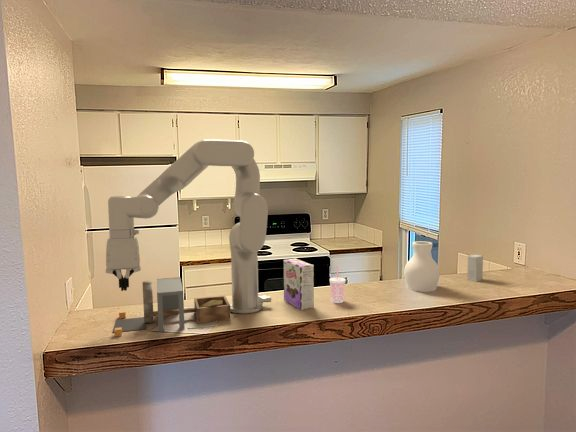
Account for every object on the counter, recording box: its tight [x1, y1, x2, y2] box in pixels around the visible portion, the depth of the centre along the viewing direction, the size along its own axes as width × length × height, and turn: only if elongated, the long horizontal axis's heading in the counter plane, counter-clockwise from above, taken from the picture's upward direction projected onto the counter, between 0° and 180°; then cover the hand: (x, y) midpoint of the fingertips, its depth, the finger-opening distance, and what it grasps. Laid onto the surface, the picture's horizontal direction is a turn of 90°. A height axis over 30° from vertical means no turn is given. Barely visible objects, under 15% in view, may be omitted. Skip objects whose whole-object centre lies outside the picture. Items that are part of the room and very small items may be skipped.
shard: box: [199, 300, 223, 308], centre depth 152 cm, size 11×8×2 cm
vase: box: [403, 240, 441, 293], centre depth 182 cm, size 14×14×20 cm
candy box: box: [282, 258, 315, 311], centre depth 164 cm, size 14×6×16 cm, turn 27°
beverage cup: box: [329, 265, 346, 304], centre depth 166 cm, size 6×6×14 cm
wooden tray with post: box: [141, 280, 232, 324], centre depth 149 cm, size 28×12×14 cm, turn 107°
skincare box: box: [466, 253, 484, 283], centre depth 193 cm, size 6×4×12 cm
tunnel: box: [111, 276, 220, 337], centre depth 148 cm, size 33×20×12 cm, turn 107°
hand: (124, 289), depth 143 cm, fingers closed
